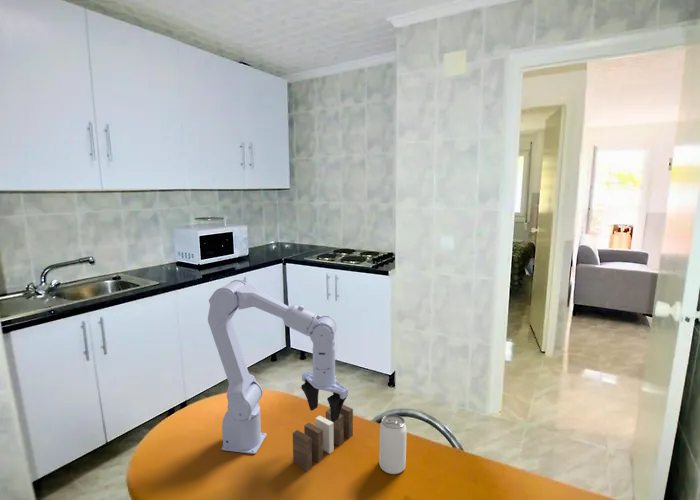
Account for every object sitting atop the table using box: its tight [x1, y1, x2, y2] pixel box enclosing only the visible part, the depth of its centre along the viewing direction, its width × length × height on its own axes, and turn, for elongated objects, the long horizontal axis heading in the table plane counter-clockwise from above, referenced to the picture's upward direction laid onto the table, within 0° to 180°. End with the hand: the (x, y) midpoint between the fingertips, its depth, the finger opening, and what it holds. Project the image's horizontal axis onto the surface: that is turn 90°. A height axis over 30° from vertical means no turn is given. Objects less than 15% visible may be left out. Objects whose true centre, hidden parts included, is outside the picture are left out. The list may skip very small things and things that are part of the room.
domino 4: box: [325, 408, 345, 447], centre depth 99 cm, size 2×5×8 cm, turn 51°
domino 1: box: [292, 429, 313, 472], centre depth 90 cm, size 2×5×8 cm, turn 51°
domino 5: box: [340, 404, 354, 439], centre depth 102 cm, size 2×5×8 cm, turn 51°
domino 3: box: [315, 414, 335, 455], centre depth 96 cm, size 2×5×8 cm, turn 50°
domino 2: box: [303, 422, 324, 463], centre depth 93 cm, size 2×5×8 cm, turn 51°
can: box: [378, 413, 407, 475], centre depth 90 cm, size 6×6×12 cm
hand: (324, 414), depth 96 cm, fingers open, 7 cm apart
